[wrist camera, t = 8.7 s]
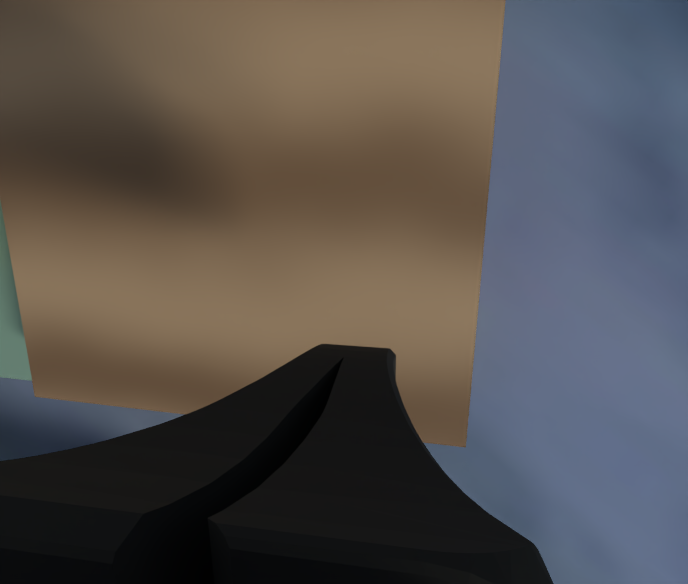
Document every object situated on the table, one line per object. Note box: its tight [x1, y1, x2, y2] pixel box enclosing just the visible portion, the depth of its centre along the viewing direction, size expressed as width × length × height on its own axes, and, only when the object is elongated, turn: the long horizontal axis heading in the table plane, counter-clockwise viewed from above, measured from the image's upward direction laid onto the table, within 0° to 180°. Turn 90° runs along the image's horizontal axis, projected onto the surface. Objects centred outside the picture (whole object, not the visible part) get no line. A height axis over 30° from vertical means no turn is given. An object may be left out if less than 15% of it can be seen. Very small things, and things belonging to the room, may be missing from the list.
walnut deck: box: [0, 0, 505, 447], centre depth 19 cm, size 14×14×3 cm
